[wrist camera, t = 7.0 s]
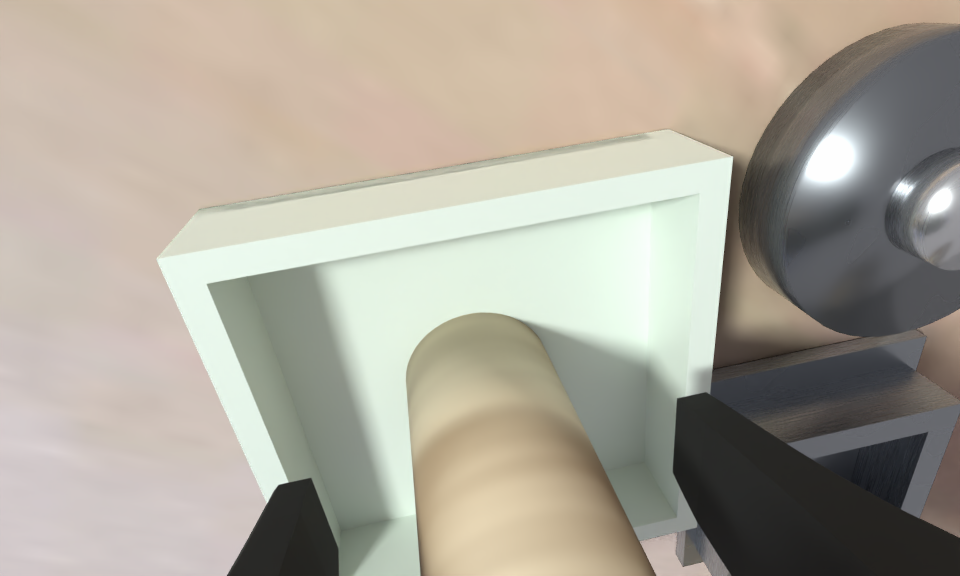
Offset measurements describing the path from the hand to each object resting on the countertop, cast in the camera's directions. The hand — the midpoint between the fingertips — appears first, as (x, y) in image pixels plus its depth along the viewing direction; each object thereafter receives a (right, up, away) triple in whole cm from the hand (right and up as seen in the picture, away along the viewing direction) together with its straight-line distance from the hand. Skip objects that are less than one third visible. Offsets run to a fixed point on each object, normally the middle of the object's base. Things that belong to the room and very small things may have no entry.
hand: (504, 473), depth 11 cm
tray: (-1, +2, +3) cm, 4 cm away
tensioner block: (+9, -2, +7) cm, 12 cm away
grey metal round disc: (+9, +6, +3) cm, 12 cm away
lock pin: (-1, +1, +3) cm, 3 cm away
